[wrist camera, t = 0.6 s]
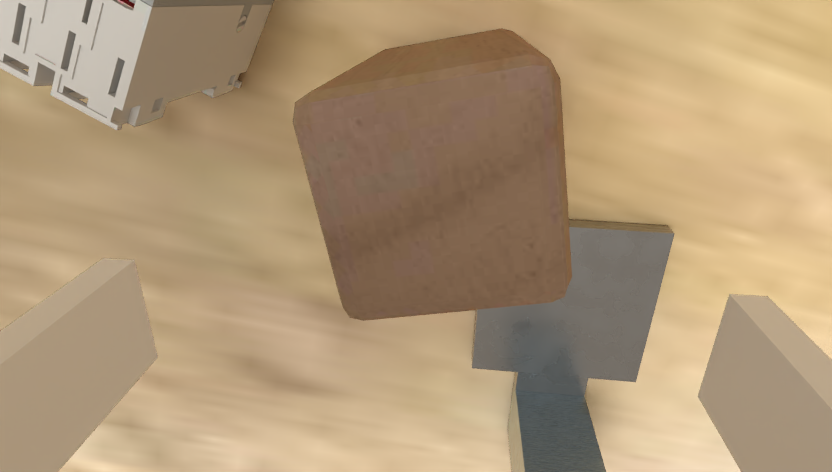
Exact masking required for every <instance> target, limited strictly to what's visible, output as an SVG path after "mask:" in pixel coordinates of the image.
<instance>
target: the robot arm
mask: <svg viewBox="0 0 832 472" xmlns="http://www.w3.org/2000/svg"><path fill="white" fill-rule="evenodd" d="M157 358H158V355H157V351H156V347H155V343H154V339H153V334H152V330H151V326H150V322H149V318H148V314H147V309H146V305H145V301H144V297H143V293H142V289H141V285H140V280H139V276H138V272H137V268H136V264H135V260H126V259H109V258H103V259H101V260H100V261H98V262H97V263H95V264H94V265H93V266H91V267H90V268H88V269H87V270H86V271H84V272H83V273H81V274H80V275H79V276H77V277H76V278H74V279H73V280H71V281H70V282H69V283H67V284H66V285H64V286H63V287H62V288H60V289H59V290H57V291H56V292H54V293H53V294H52V295H50V296H49V297H47V298H46V299H45V300H43V301H42V302H40V303H39V304H37V305H36V306H35V307H33V308H32V309H30V310H29V311H28V312H26V313H25V314H23V315H22V316H20V317H19V318H18V319H16V320H15V321H13V322H12V323H11V324H9V325H8V326H6V327H5V328H3V329H2V330H1V331H0V472H58V471H59V470H60V469H61V468H62V467H63V466H64V465H65V463H66V462H67V461H68V460H69V459H70V458H71V456H72V455H73V454H74V453H75V452H76V451H77V450H78V448H79V447H80V446H81V445H82V444H83V443H84V442H85V440H86V439H87V438H88V437H89V436H90V435H91V433H92V432H93V431H94V430H95V429H96V428H97V427H98V425H99V424H100V423H101V422H102V421H103V420H104V419H105V417H106V416H107V415H108V414H109V413H110V412H111V410H112V409H113V408H114V407H115V406H116V405H117V404H118V402H119V401H120V400H121V399H122V398H123V397H124V396H125V394H126V393H127V392H128V391H129V390H130V389H131V387H132V386H133V385H134V384H135V383H136V382H137V381H138V379H139V378H140V377H141V376H142V375H143V374H144V373H145V371H146V370H147V369H148V368H149V367H150V366H151V364H152V363H153V362H154V361H155V360H156V359H157ZM698 398H699V399H700V401H701V403H702V405H703V406H704V408H705V410H706V411H707V413H708V415H709V417H710V418H711V420H712V422H713V424H714V425H715V427H716V429H717V430H718V432H719V434H720V436H721V437H722V439H723V441H724V443H725V444H726V446H727V448H728V449H729V451H730V453H731V455H732V456H733V458H734V460H735V462H736V463H737V465H738V467H739V468H740V470H741V472H832V360H831V359H830V358H829V357H828V356H827V355H826V354H825V353H824V352H823V351H822V350H821V349H820V348H819V347H818V346H817V345H816V344H815V343H814V342H813V341H812V340H811V339H810V338H809V337H808V336H807V335H806V334H805V333H804V332H803V331H802V330H801V329H800V328H799V327H798V326H797V325H796V324H795V323H794V322H793V321H792V320H791V319H790V318H789V317H788V316H787V315H786V314H785V313H784V312H783V311H782V310H781V309H780V308H779V307H778V306H777V305H776V304H775V303H774V302H773V301H772V300H771V299H770V298H769V297H768V296H754V295H737V294H729V297H728V300H727V303H726V307H725V310H724V313H723V316H722V320H721V323H720V326H719V329H718V332H717V336H716V339H715V342H714V345H713V349H712V352H711V355H710V358H709V361H708V365H707V368H706V371H705V374H704V378H703V381H702V384H701V387H700V390H699V394H698Z"/></svg>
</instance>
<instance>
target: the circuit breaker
mask: <svg viewBox="0 0 832 472" xmlns="http://www.w3.org/2000/svg"><path fill="white" fill-rule="evenodd" d="M273 2H274V0H0V68H1V69H3V70H4V71H6V72H8V73H10V74H12V75H14V76H16V77H18V78H19V79H21V80H23V81H25V82H27V83H29V84H31V85H33V86H43V85H52V90H51V94H50V95H51V96H53V97H55V98H57V99H59V100H61V101H63V102H64V103H66V104H68V105H70V106H72V107H74V108H76V109H78V110H80V111H81V112H83V113H85V114H87V115H89V116H91V117H93V118H95V119H96V120H98V121H100V122H102V123H104V124H106V125H108V126H110V127H111V128H113V129H115V130H120V129H121V128H122V124H124V123H129V124H130V125H132V126H134V127H135V126H140V125H143V124H145V123H148V122H151V121H153V120H156V119H159V118H161V117H163V114H164V111H165V107H166V104H167V103H168V102H171V101H174V100H176V99H179V98H182V97H185V96H188V95H191V94H194V93H197V92H200V91H201V92H202V93H204V94H206V95H208V96H210V97H211V98H214V97H217V96H219V95H222V94H225V93H227V92H230V91H232V89H233V86H235V87H237V88H240V87H241V85H242V82H241V81H239V80H238V78H239V75H240V73H243V72H246V71H247V69H248V66H249V64H250V61H251V59H252V56H253V54H254V51H255V48H256V46H257V43H258V41H259V38H260V35H261V33H262V30H263V28H264V25H265V23H266V20H267V17H268V15H269V12H270V10H271V7H272V4H273ZM23 69H29V71H28V72H26V71H25V70H23ZM84 98H88V102H87V104H86V103H84V102H83V101H81V100H79V99H84Z"/></svg>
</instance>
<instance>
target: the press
mask: <svg viewBox="0 0 832 472" xmlns="http://www.w3.org/2000/svg"><path fill="white" fill-rule="evenodd" d="M569 234H570V250H571V267H572V278H571V281H570V283H569V285H568V288H567V290H566V294H565V297H563V298H561V299H558V300H556V301H554V302H551V303H542V304H531V305H521V306H510V307H500V308H489V309H479V310H476V319H475V330H474V341H473V352H472V368H477V369H489V370H500V371H512V372H515V377H514V384H513V392H512V399H511V406H510V414H509V421H508V439H509V451H510V463H511V472H606V470H605V466H604V463H603V459H602V456H601V452H600V449H599V445H598V442H597V439H596V435H595V432H594V428H593V425H592V421H591V418H590V414H589V411H588V407H587V404H586V400H585V397H584V395H585V390H586V386H587V381H588V378H595V379H606V380H618V381H630V382H636V379H637V375H638V371H639V367H640V363H641V360H642V356H643V352H644V348H645V344H646V340H647V337H648V333H649V329H650V325H651V321H652V317H653V314H654V310H655V306H656V302H657V298H658V294H659V291H660V287H661V283H662V279H663V275H664V271H665V268H666V264H667V260H668V256H669V252H670V248H671V245H672V241H673V237H674V233H673V231H672V230H671V229H670V228H669V227H668V226H666V225H650V224H634V223H617V222H601V221H585V220H569Z"/></svg>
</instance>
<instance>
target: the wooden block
mask: <svg viewBox="0 0 832 472" xmlns="http://www.w3.org/2000/svg"><path fill="white" fill-rule="evenodd" d="M293 124H294V128H295V132H296V136H297V139H298V143H299V147H300V150H301V154H302V158H303V162H304V165H305V169H306V173H307V176H308V180H309V184H310V188H311V191H312V195H313V199H314V202H315V206H316V210H317V214H318V217H319V221H320V225H321V228H322V232H323V236H324V240H325V243H326V247H327V251H328V254H329V258H330V262H331V266H332V269H333V273H334V277H335V280H336V284H337V288H338V292H339V295H340V299H341V302H342V305H343V308H344V310H345V311H346V312H347V314H348V315H349V317H350V318H354V319H358V320H374V319H384V318H395V317H405V316H416V315H426V314H437V313H447V312H458V311H468V310H479V309H489V308H500V307H510V306H521V305H531V304H542V303H551V302H554V301H556V300H558V299H561V298H563V297H565V294H566V290H567V288H568V285H569V283H570V281H571V278H572V267H571V250H570V234H569V218H568V201H567V185H566V168H565V152H564V135H563V119H562V103H561V86H560V78H559V76H558V74H557V72H556V70H555V68H554V66H553V64H552V62H551V60H550V59H549V58H547V57H546V56H545V55H543V54H542V53H541V52H539V51H538V50H537V49H535V48H534V47H533V46H531V45H530V44H529V43H527V42H526V41H525V40H523V39H522V38H521V37H519V36H518V35H517V34H515V33H514V32H513V31H509V30H505V29H497V30H491V31H486V32H480V33H475V34H469V35H464V36H458V37H452V38H447V39H441V40H436V41H430V42H425V43H419V44H414V45H408V46H403V47H397V48H392V49H386V50H383V51H381V52H380V53H378V54H376V55H374V56H373V57H371V58H369V59H367V60H366V61H364V62H362V63H360V64H359V65H357V66H355V67H353V68H352V69H350V70H348V71H346V72H345V73H343V74H341V75H339V76H338V77H336V78H334V79H332V80H331V81H329V82H327V83H325V84H324V85H322V86H320V87H318V88H317V89H315V90H313V91H311V92H310V93H308V94H307V95H306V96H304V97H303V98H301V99H300V100H298V101H297V102H295V109H294V118H293Z"/></svg>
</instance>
